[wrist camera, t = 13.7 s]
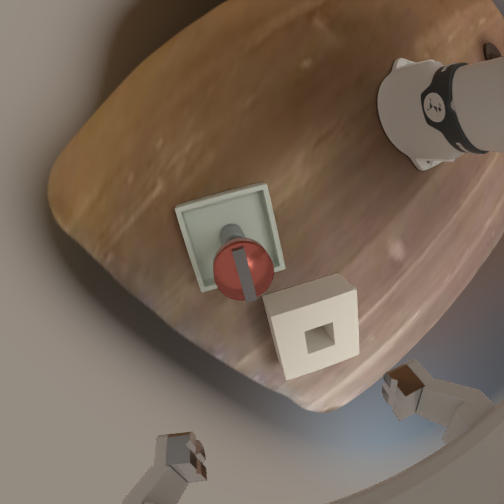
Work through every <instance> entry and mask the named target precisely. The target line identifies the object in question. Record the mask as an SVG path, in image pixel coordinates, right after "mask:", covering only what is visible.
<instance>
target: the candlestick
mask: <svg viewBox="0 0 504 504" xmlns="http://www.w3.org/2000/svg"><path fill="white" fill-rule="evenodd" d="M484 55H485V59H486V61H487V60H491V59H495V58H499V57H502V56H501V54H500V53H499V51H498V50H497V48H496V47H495V46H494V45H493V44H491V43H486V44H485V45H484Z"/></svg>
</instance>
